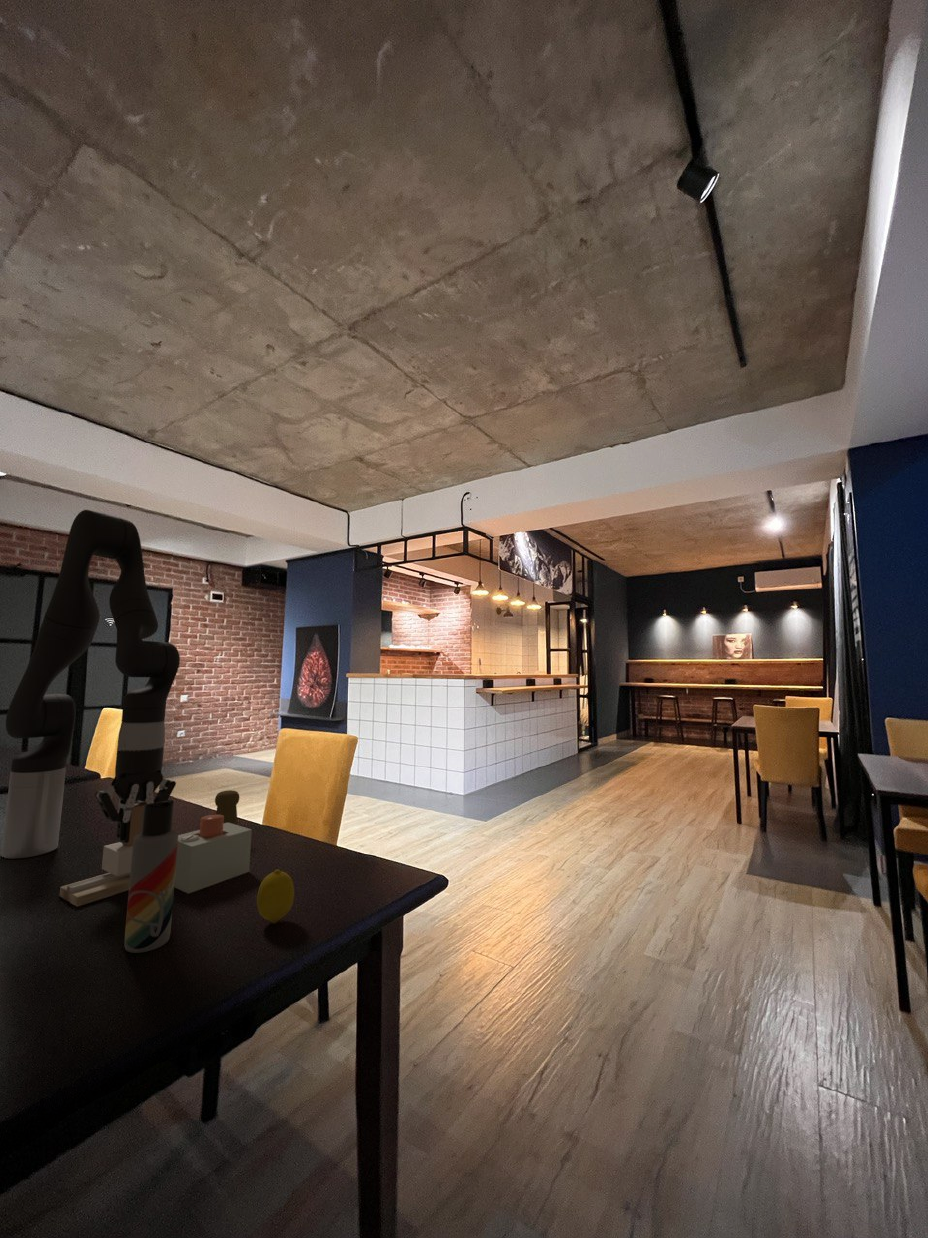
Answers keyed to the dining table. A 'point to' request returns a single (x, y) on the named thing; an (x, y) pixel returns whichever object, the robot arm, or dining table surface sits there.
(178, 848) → the cabinet
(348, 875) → the dining table surface
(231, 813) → the dark brown knob shape
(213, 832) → the gauge plunger
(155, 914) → the lotion bottle
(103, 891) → the rail
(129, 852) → the carriage
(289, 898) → the lemon
